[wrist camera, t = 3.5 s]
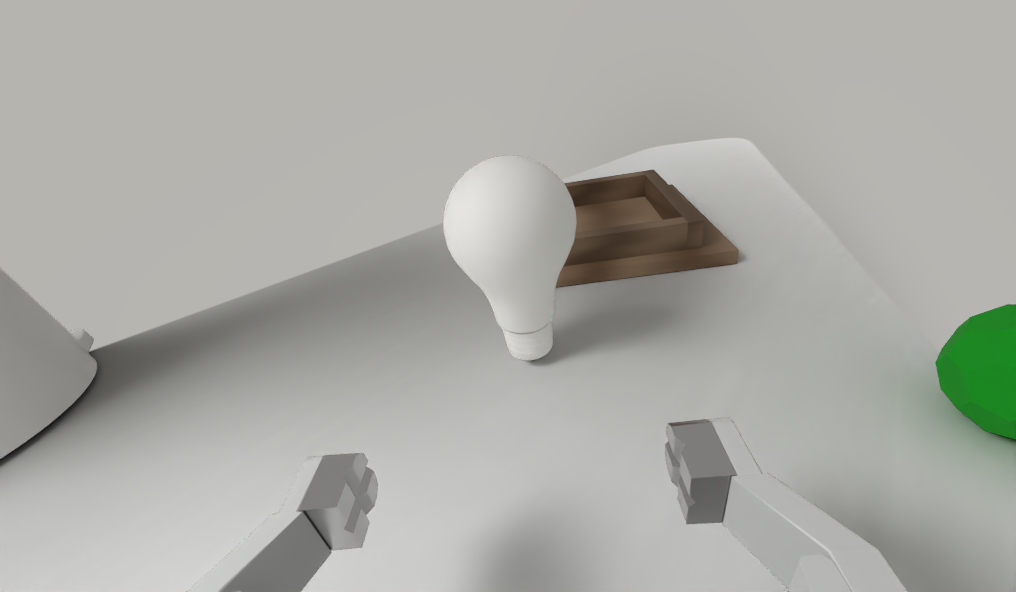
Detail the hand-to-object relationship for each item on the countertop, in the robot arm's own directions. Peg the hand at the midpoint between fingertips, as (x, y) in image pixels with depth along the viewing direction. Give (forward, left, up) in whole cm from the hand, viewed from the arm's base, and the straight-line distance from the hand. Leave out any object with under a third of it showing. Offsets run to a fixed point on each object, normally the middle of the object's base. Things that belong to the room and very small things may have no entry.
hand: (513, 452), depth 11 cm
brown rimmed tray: (+6, +25, -6) cm, 26 cm away
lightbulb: (0, +11, -6) cm, 13 cm away
